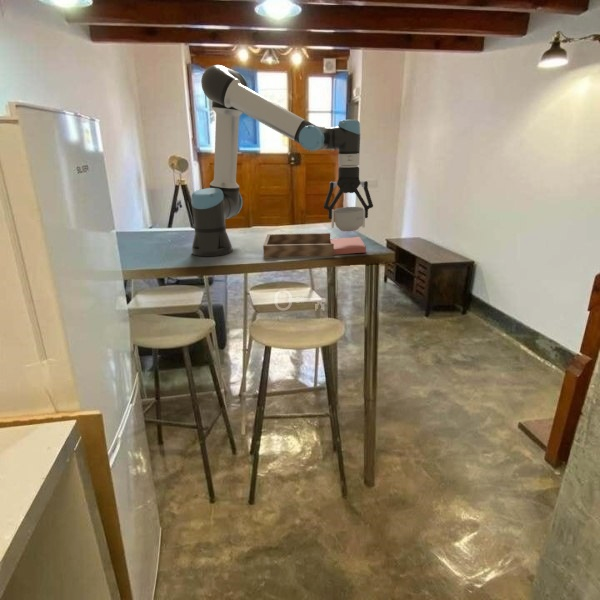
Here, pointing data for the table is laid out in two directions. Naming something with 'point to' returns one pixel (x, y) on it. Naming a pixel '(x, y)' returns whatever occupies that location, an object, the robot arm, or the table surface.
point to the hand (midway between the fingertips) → (347, 227)
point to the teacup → (349, 218)
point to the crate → (298, 245)
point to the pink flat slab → (348, 245)
